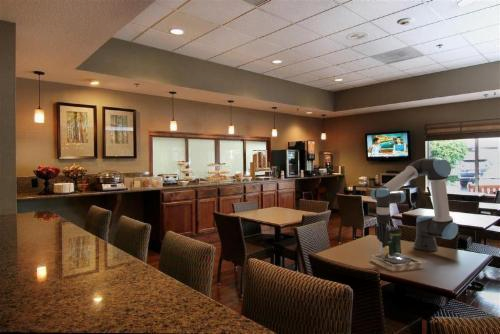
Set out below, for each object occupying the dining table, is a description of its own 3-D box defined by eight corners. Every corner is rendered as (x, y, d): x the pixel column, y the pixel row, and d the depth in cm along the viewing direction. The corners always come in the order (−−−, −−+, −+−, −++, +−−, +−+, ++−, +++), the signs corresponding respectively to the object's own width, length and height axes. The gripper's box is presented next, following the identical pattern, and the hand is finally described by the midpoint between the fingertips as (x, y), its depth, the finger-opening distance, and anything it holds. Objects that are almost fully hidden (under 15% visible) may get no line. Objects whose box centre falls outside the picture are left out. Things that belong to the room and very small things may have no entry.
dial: (397, 255, 205) (397, 241, 205) (416, 263, 189) (416, 248, 189) (376, 257, 201) (376, 243, 200) (393, 265, 185) (393, 250, 185)
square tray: (398, 258, 207) (398, 252, 207) (422, 268, 188) (422, 261, 188) (371, 260, 202) (371, 254, 202) (393, 271, 183) (393, 264, 183)
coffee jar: (403, 256, 212) (403, 228, 211) (394, 257, 209) (394, 229, 208) (392, 252, 221) (392, 225, 220) (383, 253, 218) (383, 226, 217)
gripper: (371, 212, 201) (370, 249, 202) (384, 216, 189) (384, 255, 189) (381, 211, 203) (381, 249, 204) (395, 215, 191) (395, 254, 191)
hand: (382, 252), depth 197 cm, fingers closed
